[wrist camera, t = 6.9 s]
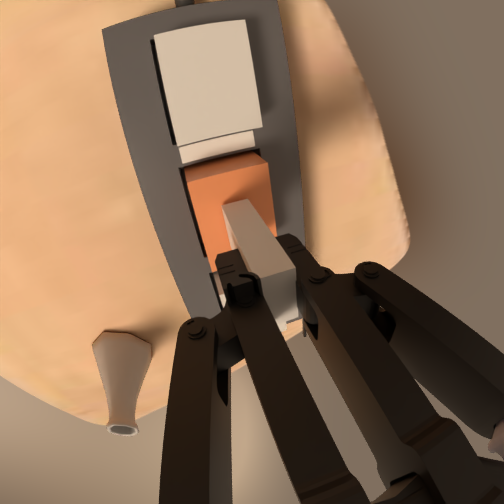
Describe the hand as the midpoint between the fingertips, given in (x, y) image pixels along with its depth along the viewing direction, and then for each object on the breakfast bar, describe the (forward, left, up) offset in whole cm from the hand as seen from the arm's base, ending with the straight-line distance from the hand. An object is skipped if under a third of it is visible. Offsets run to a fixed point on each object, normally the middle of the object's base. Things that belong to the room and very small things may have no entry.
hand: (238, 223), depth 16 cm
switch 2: (0, 0, -4) cm, 4 cm away
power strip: (-3, 0, -6) cm, 7 cm away
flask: (+15, -15, -7) cm, 22 cm away
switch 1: (-8, 0, -4) cm, 9 cm away
